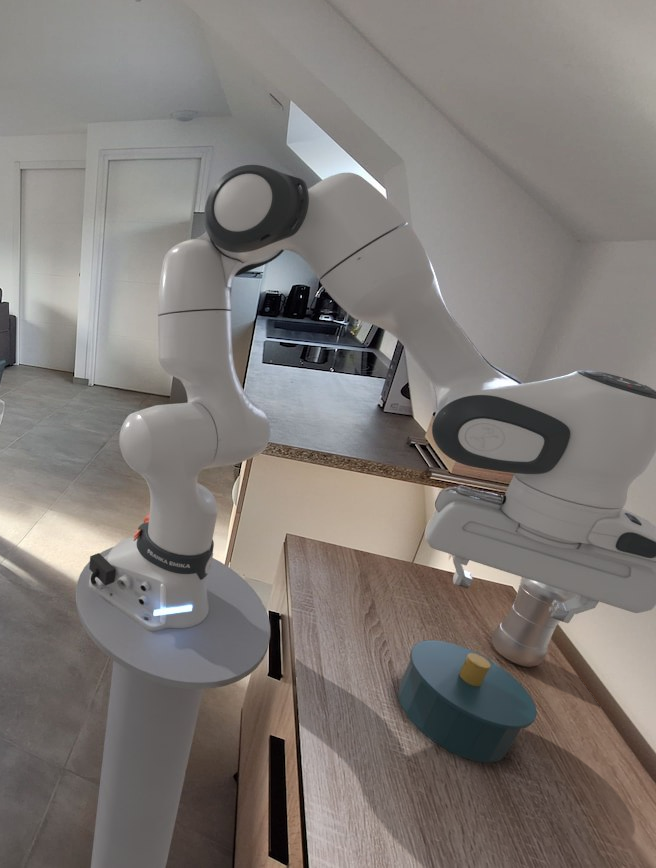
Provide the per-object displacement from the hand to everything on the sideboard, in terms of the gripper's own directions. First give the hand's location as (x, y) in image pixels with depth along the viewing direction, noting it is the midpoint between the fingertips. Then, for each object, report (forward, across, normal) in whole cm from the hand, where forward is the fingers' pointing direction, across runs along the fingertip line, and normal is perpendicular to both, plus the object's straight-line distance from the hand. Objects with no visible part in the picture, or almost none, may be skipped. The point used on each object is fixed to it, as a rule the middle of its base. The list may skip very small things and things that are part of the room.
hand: (506, 600), depth 58 cm
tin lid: (+14, 0, 0) cm, 14 cm away
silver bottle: (+22, +10, +21) cm, 32 cm away
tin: (+22, 0, 0) cm, 22 cm away
